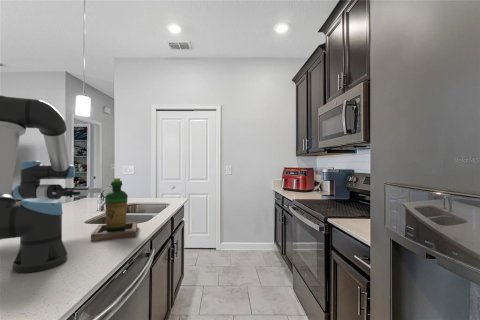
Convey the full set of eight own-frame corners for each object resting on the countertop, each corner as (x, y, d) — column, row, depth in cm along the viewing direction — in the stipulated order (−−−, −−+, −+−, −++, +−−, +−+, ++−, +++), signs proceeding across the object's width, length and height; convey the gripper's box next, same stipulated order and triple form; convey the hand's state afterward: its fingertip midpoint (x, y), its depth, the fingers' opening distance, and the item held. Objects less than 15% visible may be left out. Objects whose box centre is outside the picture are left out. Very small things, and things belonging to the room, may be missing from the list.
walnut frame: (135, 237, 119) (135, 231, 119) (90, 241, 112) (90, 234, 112) (137, 227, 137) (137, 221, 137) (98, 230, 130) (98, 224, 130)
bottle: (106, 237, 117) (107, 179, 117) (102, 232, 125) (103, 178, 125) (130, 233, 124) (130, 178, 124) (124, 228, 132) (125, 177, 132)
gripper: (66, 196, 134) (106, 195, 136) (31, 203, 109) (81, 202, 111) (66, 182, 134) (106, 182, 136) (31, 186, 109) (81, 186, 111)
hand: (95, 191), depth 123 cm, fingers open, 13 cm apart
